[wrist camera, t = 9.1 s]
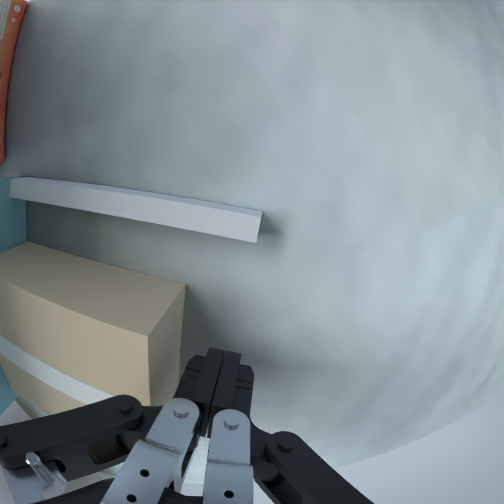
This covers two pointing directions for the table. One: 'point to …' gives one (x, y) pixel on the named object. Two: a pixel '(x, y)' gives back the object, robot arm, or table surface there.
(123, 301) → the kraft carton
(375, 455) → the table surface
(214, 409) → the robot arm
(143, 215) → the display stand
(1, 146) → the cracker box
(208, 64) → the table surface
